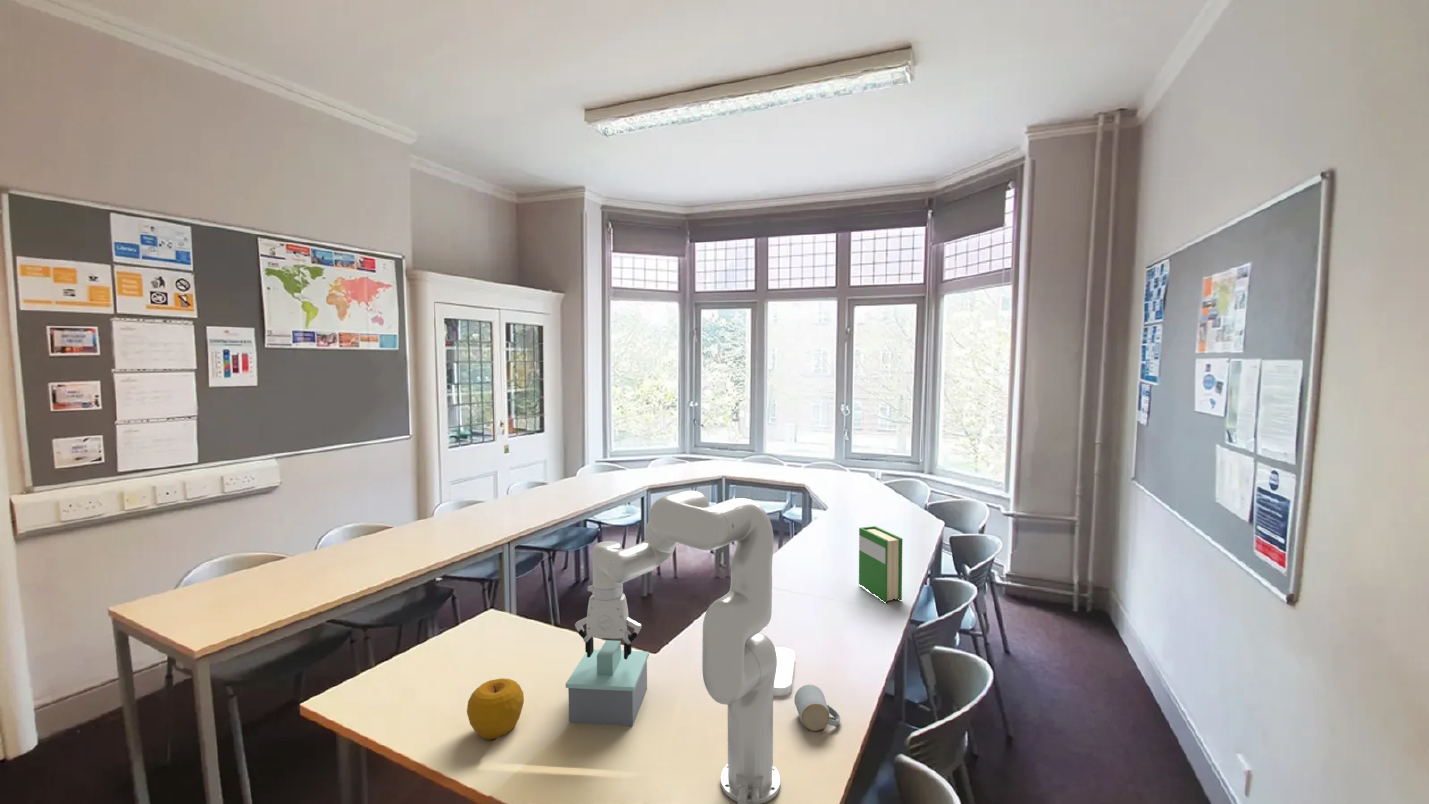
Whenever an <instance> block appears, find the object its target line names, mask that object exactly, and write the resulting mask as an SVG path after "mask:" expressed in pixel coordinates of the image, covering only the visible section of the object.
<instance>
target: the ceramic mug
mask: <svg viewBox="0 0 1429 804" xmlns="http://www.w3.org/2000/svg"><path fill="white" fill-rule="evenodd" d="M793 700H794V705H795V708H796V711H797V713H798V716H799V719H800V721H801V723H802V724H803V726H804V727H805V728H806V729H807V730H809V731H812V732H817V731H818V732H819V731H821V730H823V729H825V727H827V726H828V725H829V726H831V727H838V725H840V722H841V716H840V714H839V712H838V711H837V710H835V709H834V708H833V707H831V706H830V705H829V704H827V701H826V698H825V694H824V693H823V690H822V689H821V688H820V687H818V686H817V685H814V684H805V685H802V686H801V687H799V688H798V689H797V691H796V693H795V694H794V699H793ZM830 715H831V716H832V717H834V719H832V718H830Z"/></svg>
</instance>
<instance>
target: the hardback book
mask: <svg viewBox="0 0 1429 804" xmlns="http://www.w3.org/2000/svg"><path fill="white" fill-rule="evenodd" d="M858 528H859V529H858V531H859V533H858V534H859V535H858V537H859V538H858V542H859V543H858V585H859V584H860V585H862V586H864V587H865V588H866V589H868V590H869V591H870V592H871V593H872V594H875V595H876V596H878V597H879V598H880V599H881V600H883V601H884V602H887V603H888V602H889V601H894V600H893V599H895V600H897V599H899V600H902V601H903V599H902V597H903V589H902V588H903V537H900V536H898V535H896V534H893V533H892V532H889V531H887V530H884V529H883V528H880V527H879V526H877V525H874V526H873V525H872V526H865V527H858Z"/></svg>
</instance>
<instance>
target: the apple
mask: <svg viewBox="0 0 1429 804" xmlns="http://www.w3.org/2000/svg"><path fill="white" fill-rule="evenodd" d="M524 702H525V697H524V691H523V689H522V688H521V685H520V684H519V683H518V682H517V681H515V680H513V679H510V678H502V677H501V678H495V679H490V680H488V681H485V682H483V683H482V684H480V686H478V687H477V688H476V689H475V690H474V691H473V692H471V694H470V697H469V699H468V700H467V708H466V715H467V718H468V721H469V724H470V726H471V728H472V729H473V730H474V732H475V733H476V734H478V735H479V736H480V737H481V738H483V739H485V740H489V741H490V740H496V739H497V738H498V737H502V736H505V735H507V734H508V733H510V732H511V731H512V730H513V729H514V728H516V725H517V723H518V722H519V719H520V716H521V713H522V710H523V706H524Z"/></svg>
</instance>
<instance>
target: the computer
mask: <svg viewBox="0 0 1429 804" xmlns="http://www.w3.org/2000/svg"><path fill="white" fill-rule="evenodd" d="M774 647H775V650H776V654H777V670H776V677H775V683H774V691H773V697H774V696H775V697H783V696H787V695H789V694H790V693H792V686H793V681H794V680H793V678H794V671H795V670H794V669H795V665H796V664H795V663H796V661H795V659H796V654H795V651H794V650H792V649H790V648H788V647H781V646H780V647H779V646H778V647H777V646H774Z"/></svg>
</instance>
